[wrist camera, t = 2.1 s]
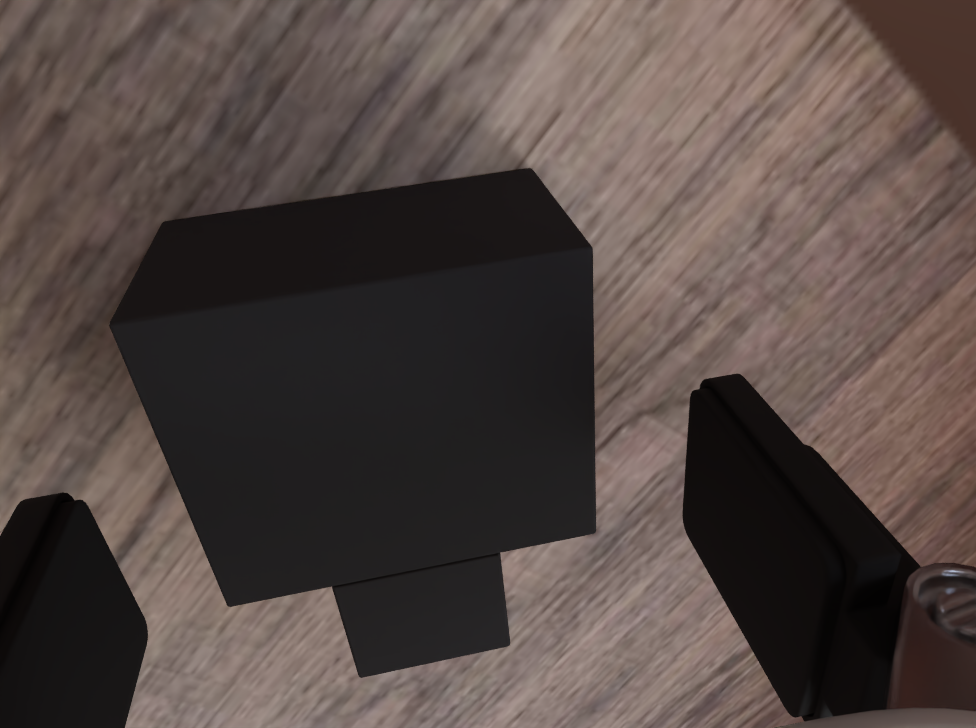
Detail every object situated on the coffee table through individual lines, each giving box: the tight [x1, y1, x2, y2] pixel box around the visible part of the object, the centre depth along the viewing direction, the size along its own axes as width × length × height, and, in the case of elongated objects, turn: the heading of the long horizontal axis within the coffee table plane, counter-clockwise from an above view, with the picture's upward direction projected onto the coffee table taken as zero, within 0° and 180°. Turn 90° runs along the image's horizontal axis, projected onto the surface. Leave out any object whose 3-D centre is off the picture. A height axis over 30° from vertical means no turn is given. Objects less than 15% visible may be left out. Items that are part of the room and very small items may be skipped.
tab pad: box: [109, 168, 596, 678], centre depth 15 cm, size 9×7×4 cm
